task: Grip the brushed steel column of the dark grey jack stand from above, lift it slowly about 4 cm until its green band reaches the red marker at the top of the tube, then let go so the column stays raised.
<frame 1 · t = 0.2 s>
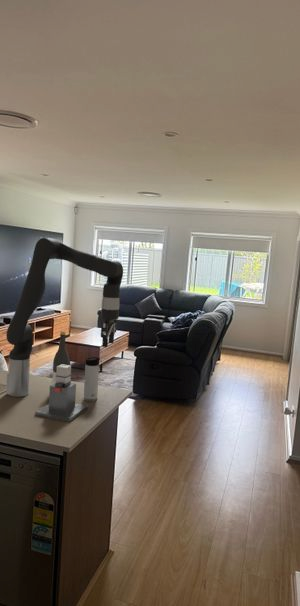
hand: (107, 344, 178), 29 cm above the countertop, tool pointing down, fingers open, 8 cm apart
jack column: (63, 386, 174), point 11 cm above the countertop, slide at 0.0 cm
travel mug: (90, 399, 193), on the countertop
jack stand: (62, 412, 175), on the countertop
wine bottle: (60, 392, 200), on the countertop
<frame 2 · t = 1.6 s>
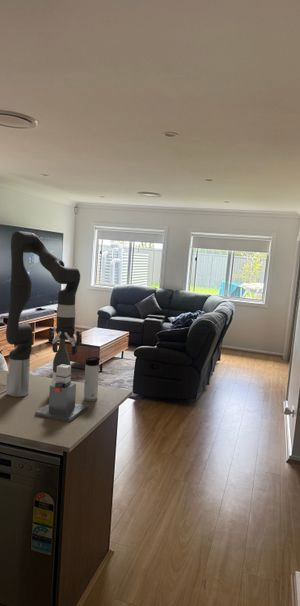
hand: (64, 353, 173), 25 cm above the countertop, tool pointing down, fingers open, 8 cm apart
nothing on the countertop moved.
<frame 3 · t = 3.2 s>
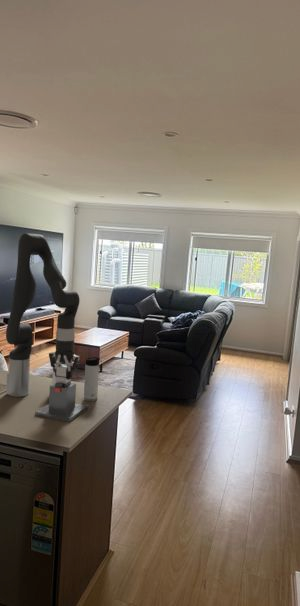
hand: (63, 378, 174), 15 cm above the countertop, tool pointing down, fingers closed on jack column, 4 cm apart
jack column: (63, 386, 174), point 11 cm above the countertop, slide at 0.0 cm, touching gripper
everything else where it was.
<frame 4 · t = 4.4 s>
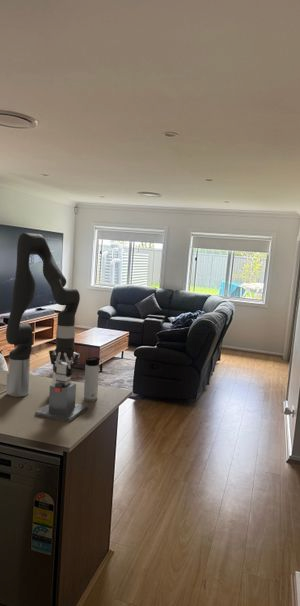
hand: (63, 375, 174), 16 cm above the countertop, tool pointing down, fingers closed on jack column, 4 cm apart
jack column: (63, 384, 174), point 12 cm above the countertop, slide at 1.1 cm, touching gripper
everything else where it was.
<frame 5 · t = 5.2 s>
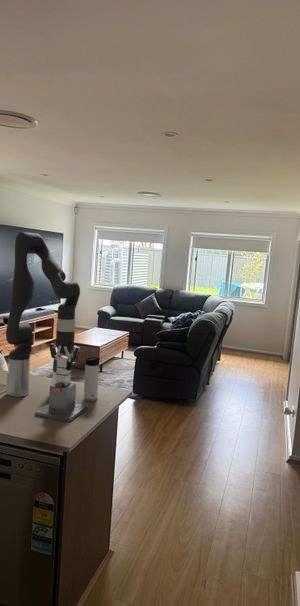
hand: (63, 369, 173), 19 cm above the countertop, tool pointing down, fingers closed on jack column, 4 cm apart
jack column: (63, 378, 174), point 15 cm above the countertop, slide at 3.8 cm, touching gripper
everything else where it was.
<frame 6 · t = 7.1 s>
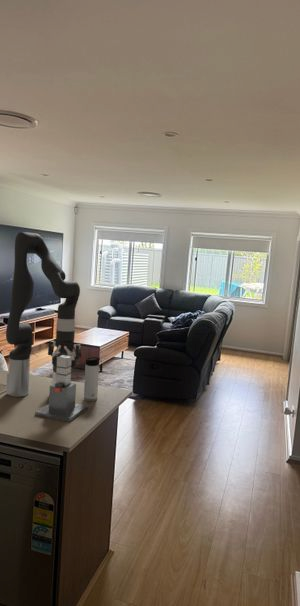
hand: (63, 367, 173), 20 cm above the countertop, tool pointing down, fingers open, 8 cm apart
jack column: (63, 377, 174), point 15 cm above the countertop, slide at 3.9 cm
everything else where it was.
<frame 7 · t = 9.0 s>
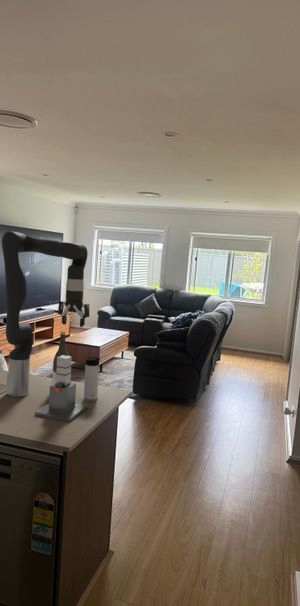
hand: (72, 325, 183), 35 cm above the countertop, tool pointing down, fingers open, 8 cm apart
nothing on the countertop moved.
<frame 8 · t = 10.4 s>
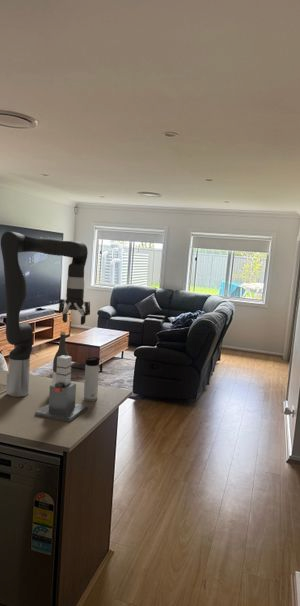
hand: (73, 323, 185), 36 cm above the countertop, tool pointing down, fingers open, 8 cm apart
nothing on the countertop moved.
at the end: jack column slide at 3.9 cm; the gripper is holding nothing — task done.
